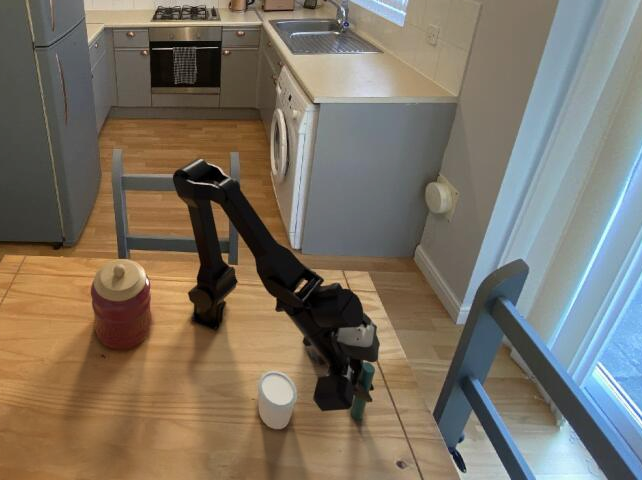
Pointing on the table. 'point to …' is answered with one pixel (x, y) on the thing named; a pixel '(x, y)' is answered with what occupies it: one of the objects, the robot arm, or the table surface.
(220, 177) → the robot arm
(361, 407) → the teal green rod
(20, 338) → the table surface
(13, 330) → the table surface
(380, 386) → the table surface
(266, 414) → the white cylindrical container
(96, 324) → the kitchen canister
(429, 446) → the table surface
